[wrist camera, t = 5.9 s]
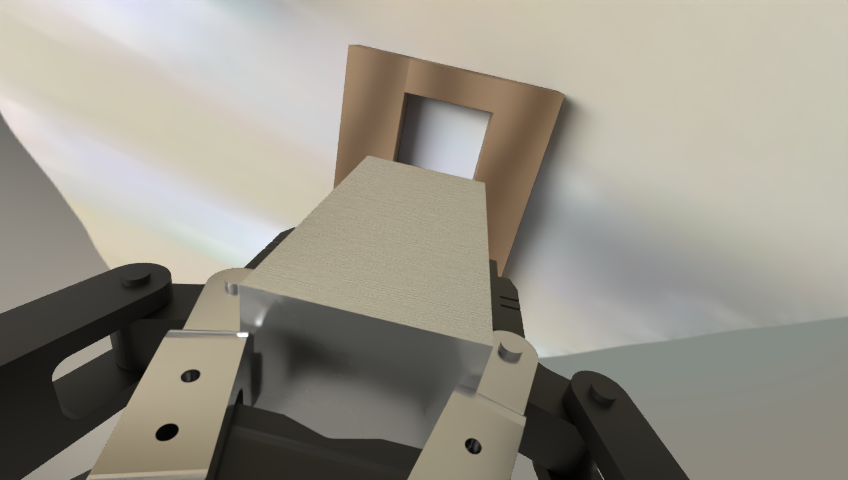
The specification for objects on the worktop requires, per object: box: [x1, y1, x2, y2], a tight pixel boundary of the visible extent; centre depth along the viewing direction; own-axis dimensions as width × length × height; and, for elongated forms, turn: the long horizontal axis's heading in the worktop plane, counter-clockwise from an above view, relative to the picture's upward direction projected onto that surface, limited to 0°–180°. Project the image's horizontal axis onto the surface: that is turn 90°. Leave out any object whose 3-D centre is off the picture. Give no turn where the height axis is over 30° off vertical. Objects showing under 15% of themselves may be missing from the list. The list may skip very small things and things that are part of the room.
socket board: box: [334, 45, 565, 277], centre depth 31 cm, size 14×22×3 cm, turn 168°
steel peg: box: [239, 155, 493, 449], centre depth 12 cm, size 4×4×9 cm
